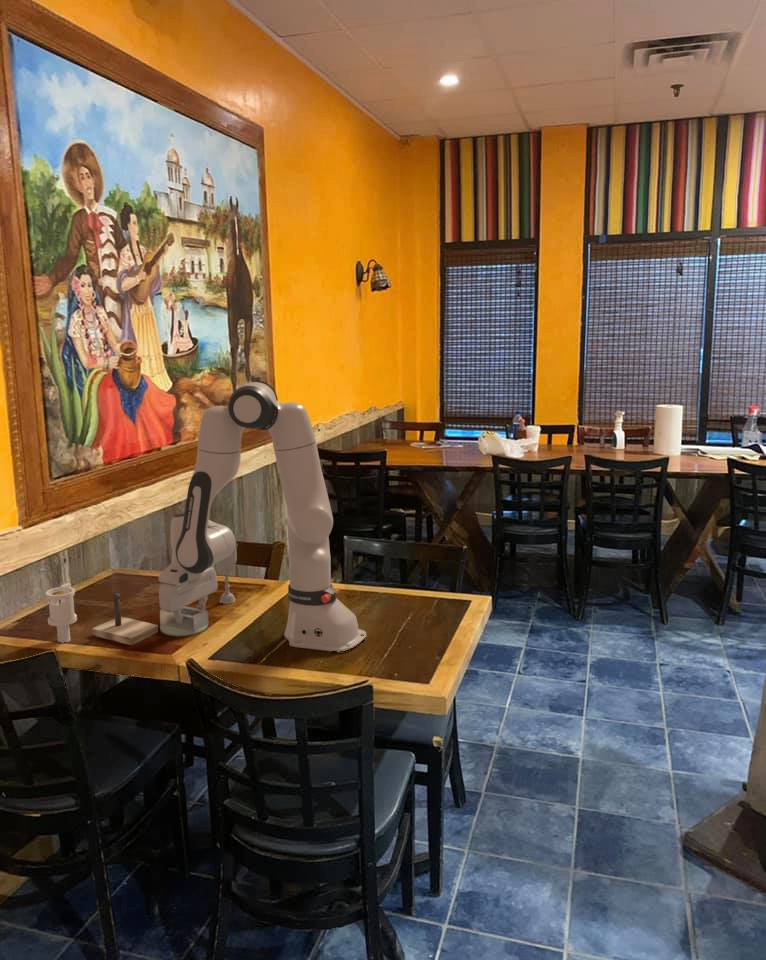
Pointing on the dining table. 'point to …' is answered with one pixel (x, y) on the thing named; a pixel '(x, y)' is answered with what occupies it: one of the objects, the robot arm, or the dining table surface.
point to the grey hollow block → (186, 619)
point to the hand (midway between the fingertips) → (190, 616)
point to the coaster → (178, 631)
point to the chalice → (227, 568)
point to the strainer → (62, 611)
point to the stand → (124, 627)
